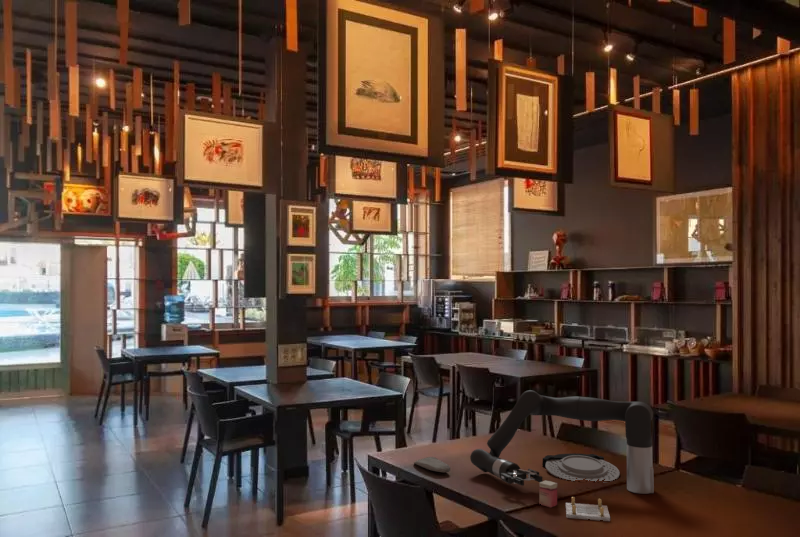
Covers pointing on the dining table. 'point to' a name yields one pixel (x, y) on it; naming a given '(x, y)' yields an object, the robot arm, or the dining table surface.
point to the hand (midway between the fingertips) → (532, 481)
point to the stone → (433, 464)
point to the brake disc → (580, 467)
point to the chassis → (587, 511)
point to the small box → (548, 493)
